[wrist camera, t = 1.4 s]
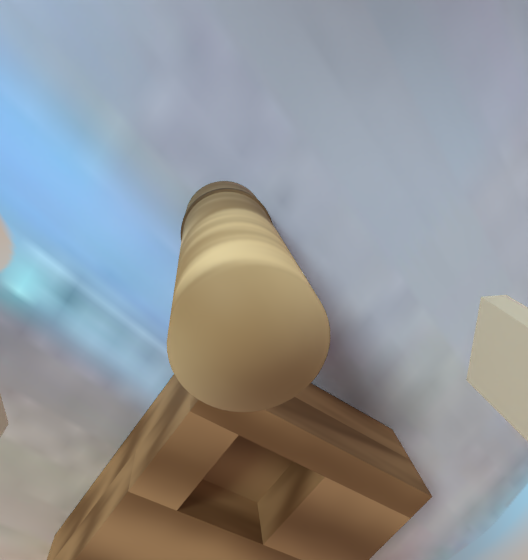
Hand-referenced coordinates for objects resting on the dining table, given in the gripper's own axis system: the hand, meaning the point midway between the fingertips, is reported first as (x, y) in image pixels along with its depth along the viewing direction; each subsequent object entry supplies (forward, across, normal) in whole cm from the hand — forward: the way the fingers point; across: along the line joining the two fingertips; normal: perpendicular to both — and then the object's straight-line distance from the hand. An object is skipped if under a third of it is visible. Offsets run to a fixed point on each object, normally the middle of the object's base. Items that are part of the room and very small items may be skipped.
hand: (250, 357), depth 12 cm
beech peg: (+14, 0, +1) cm, 14 cm away
